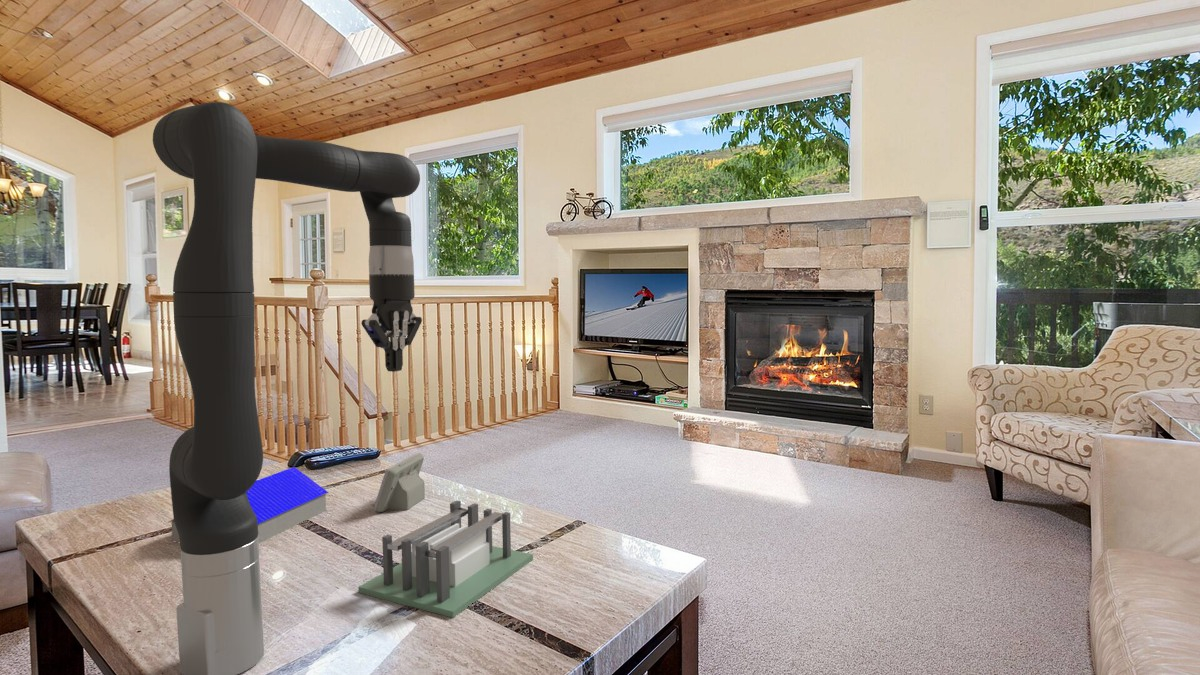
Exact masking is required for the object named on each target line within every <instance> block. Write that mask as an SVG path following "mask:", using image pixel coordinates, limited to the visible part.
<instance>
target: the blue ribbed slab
mask: <svg viewBox="0 0 1200 675" xmlns="http://www.w3.org/2000/svg"><path fill="white" fill-rule="evenodd" d="M246 493H247V497H248V500H249V503H250V505H251V507H252V509H253V511H254V513H255V515H256V517H257V521H258V541H259V544H261V543H263V542H265V541H267V540H268V539H269V540H270V539H271V538H273V537H275V536H277V535H279V534H281V533H283V532H285V531H287V530H289V529H292V528H293V526H294V527H295V525H296V526H297V524H298V525H300V524H302V523H304V522H306V521H308V520H310V519H312V518H314V517H316V516H318V515H320V514H322V513H324V512H326V511H327V498H326V496H327V495H326V494H328V493H329V491H327V490H326V489H325V488H323V487H322V486H321V485H319V484H318V483H317V482H315V481H314V480H313V479H312V478H310V477H309V476H307V475H306V473H305V474H304V472H302V471H301V470H299V469H298V468H296V467H295V466H293V467H290V468H287V469H284V470H282V471H281V470H280V471H278V472H276V473H274V474H271V475H268V476H266V477H263V478H259V479H257V480H256V482H255V483H254V485H253V486H252V487H251V488H250V489H249V490H248V491H247V492H246ZM305 520H306V521H305ZM303 521H304V522H303ZM301 522H302V523H301ZM167 523H168V524H169V523H171V536H172V542H173V541H176V542H175V543H177V542H180V538H179V534H178V531H177V528H176V526H175V522H174V518H172V519H171V520H169V521H168V522H167ZM299 523H300V524H299ZM291 527H292V528H291Z"/></svg>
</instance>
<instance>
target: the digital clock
mask: <svg viewBox="0 0 1200 675" xmlns="http://www.w3.org/2000/svg"><path fill="white" fill-rule="evenodd" d="M424 459H425V458H424V454H422V453H420V452H417V453H413V454H411V455H410V456H408V457H406V458H404V459H402V460H401V461H399V462H397V463H395V464H393V465H391V466H389V467H388V468H387V469H386V470H385V472H384V474H383V477H382V480H381V483H380V487H379V490H378V493H377V496H376V499H375V503H374V505H373V507H374V511H375V512H376V513H382V512H383V513H384V512H385V511H387V510H399V511H408V510H410V509H411V508H413V507H414V506H416V504H418V503H420V502H421V501H423V499H425V498H426V495H425V493H426V492H425V488H426V487H425V480H424V479H423V478H421V477H420V472H421V469H422V466H423V463H424V461H425V460H424Z"/></svg>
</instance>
